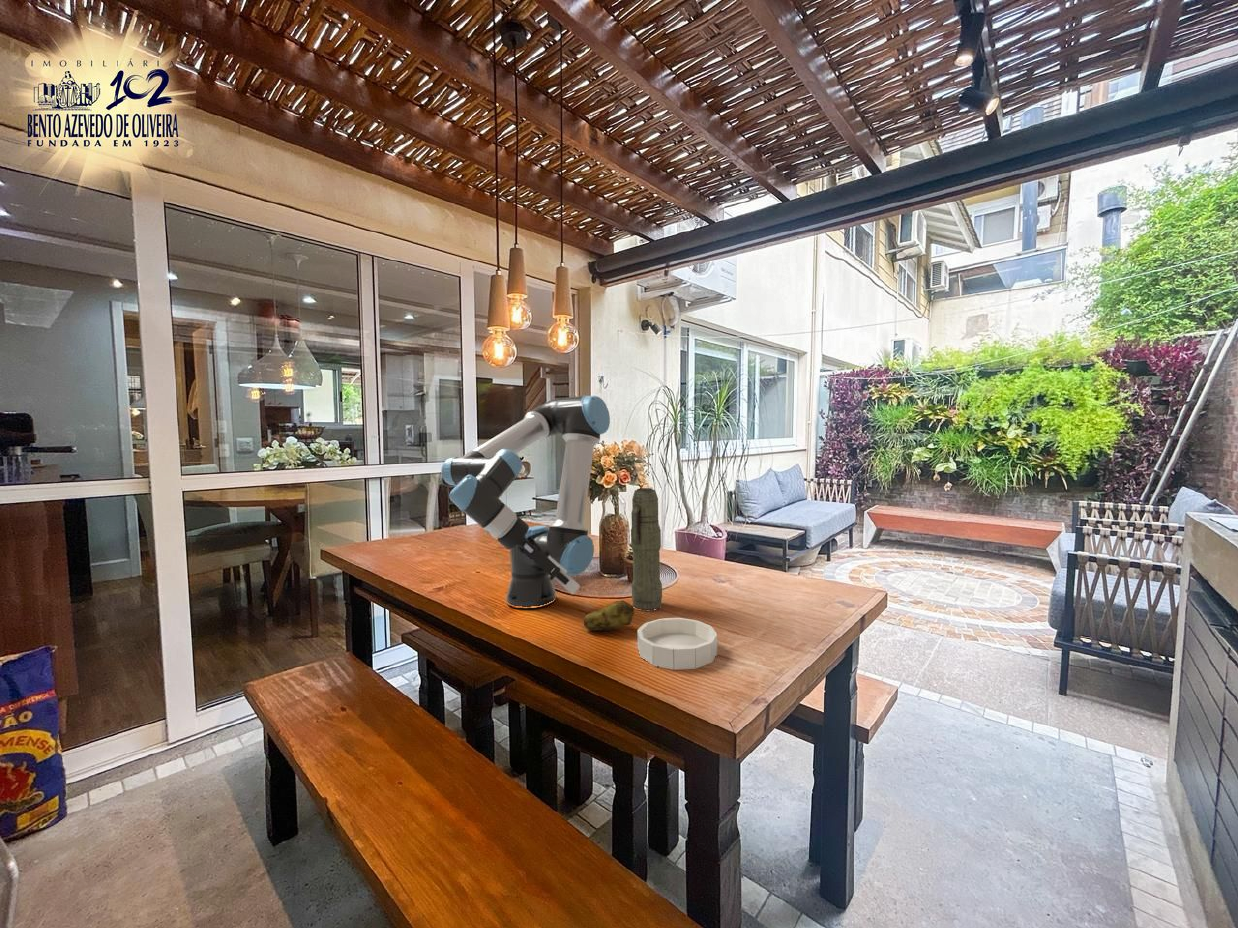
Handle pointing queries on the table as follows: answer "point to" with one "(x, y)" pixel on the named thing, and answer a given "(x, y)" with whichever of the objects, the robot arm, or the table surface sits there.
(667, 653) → the bowl
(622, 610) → the potato
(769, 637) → the table surface
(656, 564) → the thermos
